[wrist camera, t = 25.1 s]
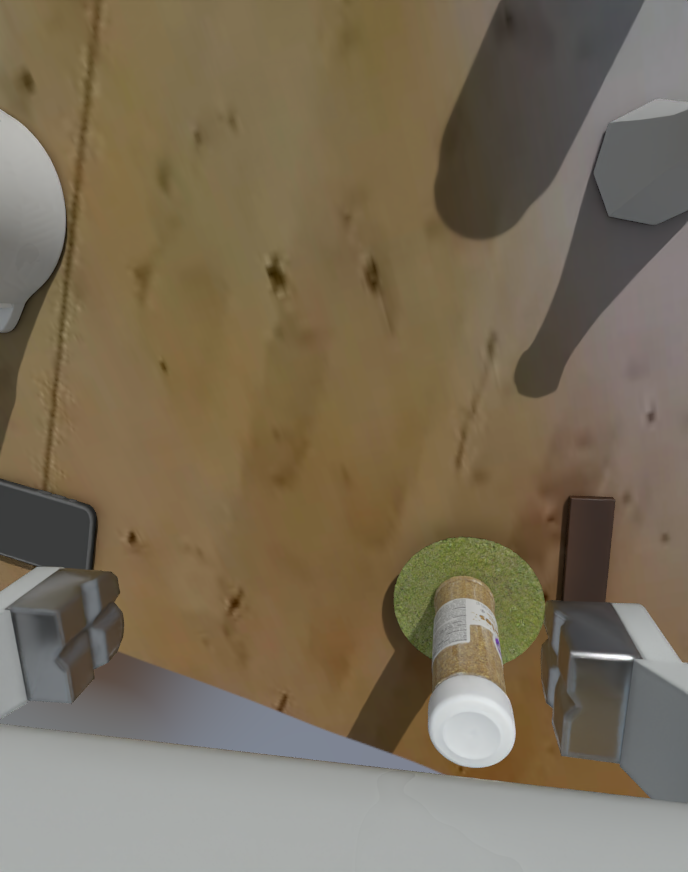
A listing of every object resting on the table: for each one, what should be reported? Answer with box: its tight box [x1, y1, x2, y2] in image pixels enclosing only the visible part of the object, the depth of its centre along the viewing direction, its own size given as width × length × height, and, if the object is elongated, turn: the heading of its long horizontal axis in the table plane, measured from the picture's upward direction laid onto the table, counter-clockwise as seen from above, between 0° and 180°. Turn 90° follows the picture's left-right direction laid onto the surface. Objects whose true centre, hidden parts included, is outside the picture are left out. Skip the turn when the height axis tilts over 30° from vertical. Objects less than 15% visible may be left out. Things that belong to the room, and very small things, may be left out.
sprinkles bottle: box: [428, 576, 516, 768], centre depth 35 cm, size 5×5×13 cm
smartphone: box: [0, 479, 97, 570], centre depth 49 cm, size 7×1×15 cm
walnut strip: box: [561, 496, 615, 602], centre depth 41 cm, size 3×15×1 cm, turn 1°
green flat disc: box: [394, 537, 545, 664], centre depth 42 cm, size 11×11×2 cm
